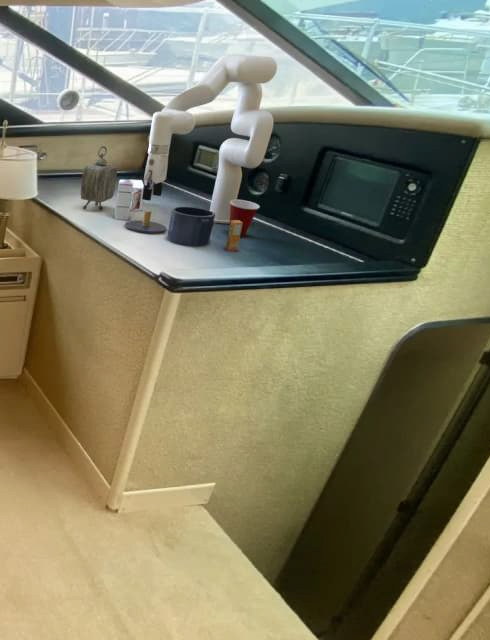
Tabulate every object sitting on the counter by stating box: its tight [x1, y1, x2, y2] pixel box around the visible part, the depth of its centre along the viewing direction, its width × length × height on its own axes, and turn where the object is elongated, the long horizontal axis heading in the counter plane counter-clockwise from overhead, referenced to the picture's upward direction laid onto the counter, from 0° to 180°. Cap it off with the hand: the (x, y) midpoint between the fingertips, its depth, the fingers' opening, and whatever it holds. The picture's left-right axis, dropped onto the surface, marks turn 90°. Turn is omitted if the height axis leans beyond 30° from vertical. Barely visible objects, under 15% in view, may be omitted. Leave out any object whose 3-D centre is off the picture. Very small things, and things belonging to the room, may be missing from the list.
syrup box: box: [114, 179, 134, 221], centre depth 239 cm, size 6×6×14 cm
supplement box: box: [224, 220, 243, 252], centre depth 207 cm, size 3×3×10 cm
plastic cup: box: [228, 199, 261, 238], centre depth 225 cm, size 11×11×12 cm
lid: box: [124, 209, 167, 234], centre depth 228 cm, size 16×16×7 cm
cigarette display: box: [128, 179, 144, 212], centre depth 261 cm, size 20×6×9 cm, turn 172°
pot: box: [166, 206, 215, 247], centre depth 215 cm, size 15×20×10 cm
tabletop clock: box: [80, 145, 118, 211], centre depth 248 cm, size 14×9×25 cm, turn 144°
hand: (151, 197), depth 224 cm, fingers open, 9 cm apart
